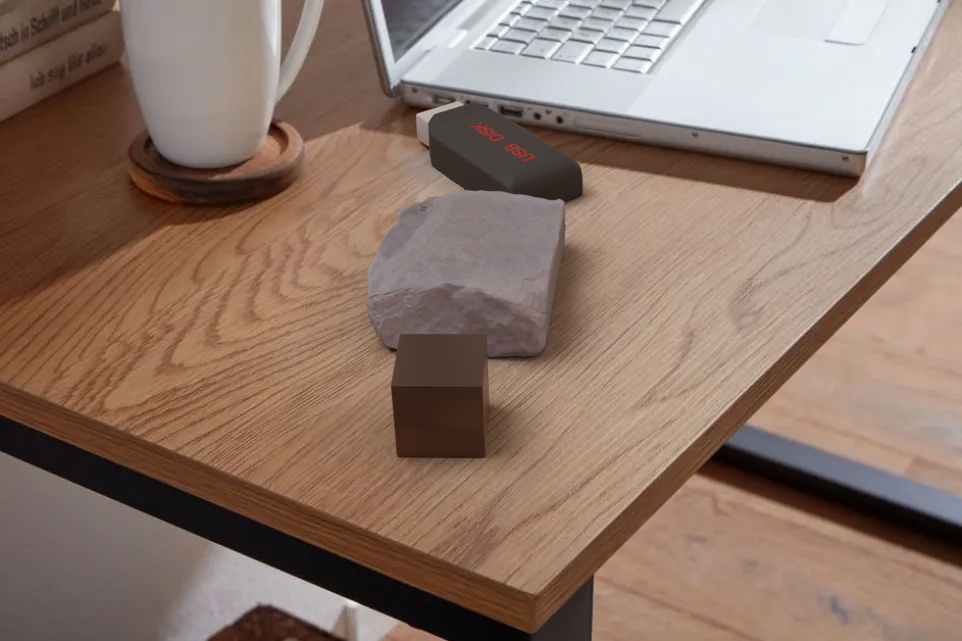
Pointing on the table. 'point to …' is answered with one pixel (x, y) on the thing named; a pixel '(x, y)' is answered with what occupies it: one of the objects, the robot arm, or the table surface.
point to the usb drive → (496, 153)
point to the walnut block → (441, 395)
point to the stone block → (470, 270)
